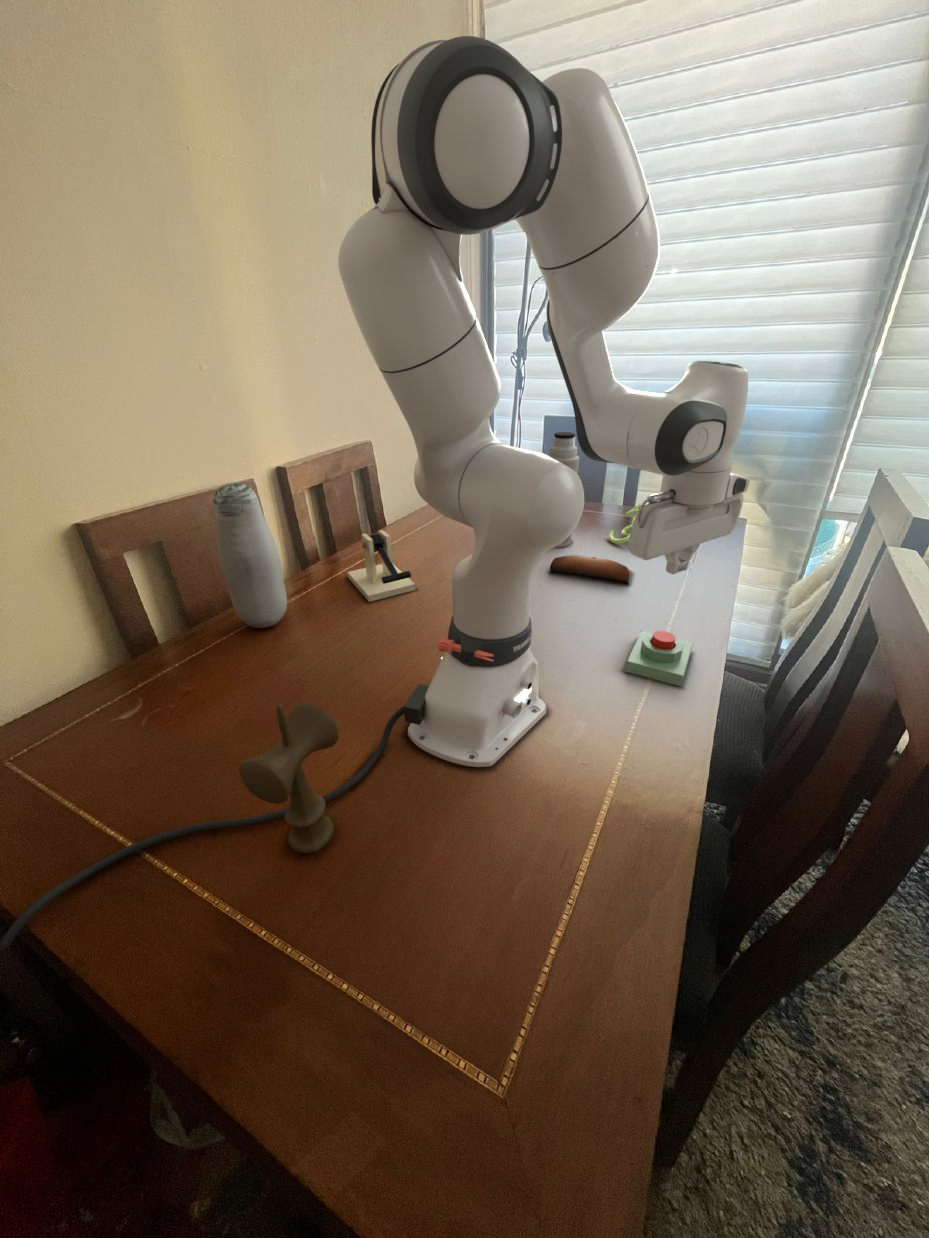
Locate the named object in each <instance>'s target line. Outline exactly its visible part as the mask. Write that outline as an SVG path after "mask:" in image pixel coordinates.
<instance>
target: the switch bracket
mask: <svg viewBox="0 0 929 1238" xmlns="http://www.w3.org/2000/svg"><path fill="white" fill-rule="evenodd" d="M378 534H380V536H381V538H382V539H383V541H384V550H385V552H386V554H387V555H388V557H389V559H390V561H391V562H392V564H393V566H394V568H395V569H396V571H397V573H401V572H402V571H401V569H399V568H398V567H397V566H396V565H395V564H394V562H393V561H394V560H393V552H392V541H391V540H392V539H391V535H389V533H387V532H386V531H385V530H384V529H381V530H378ZM361 541H362V549H363V558H364V566H365V567H363V568H359V569H355V570H350V571H347V578H348V579H349V581H350V582H351V583H352V585H354V586H355V587H356V589H357V590H358V591H359V592H360V593H361V595H362V596H363V597H364V598H365V599H366V600H367V602H369V603H370V602H375V601H378V600H381V599H386V598H390V597H394V596H396V595H401V594H404V593H405V594H406V593H409V592H413V591H416V583H415V582H414V581H412V579H410V578H406V579H402V580H398V581H394V582H389V583H385V584H383V582H382V577H385V576H389V575H391V574H390V572H389V570H388V568H387V567H386V565H385V563H384V561H383V559H382V558H381V563H380V564H377V563H376V557H375V556H376V555H375V552H374V546H373V539H371V538H370V535H368V534H367V533H361Z"/></svg>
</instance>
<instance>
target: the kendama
mask: <svg viewBox="0 0 929 1238" xmlns="http://www.w3.org/2000/svg"><path fill="white" fill-rule="evenodd" d="M275 710H276V711H275V712H276V718H277V724H278V728H279V732H280V738H281V740H280V741H278V743H277V744H275V746H274V747H272V748H271V749H270V750H267V751H266V752H264V753H261V754H259V755H255V756H252V757H249V758H246V759H244V760H243V761H242V762H241V763H240V766H239V768H238V771H239V777H240V779H241V780H242V782H243V785H244V786H245V787H246V789H247V790H248V791H249V792H250V793H251V794H252V795H253V796H254V797H256V798H258V799H259V800H261V801H264V802H266V803H270V804H273V805H275V804H276V805H279V804H284V803H286V802H287V800H288V798H289V805H288V806H287V808H286V809H287V810H286V812H285V817H284V818H283V819H284V820H285V823H286V824H287V825H288V826H289V827H291V829H290V831H289V833H288V838H287V839H288V840H287V843H288V845H289V846H290V847H291V849H292V850H293V851H295V852H297V853H299V854H305V855H308V854H314V853H317V852H318V851H321V849H323V848H324V847H326V846H327V845H328V843H329V842H330V841H331V840H332V837H333V835H334V833H335V832H334V831H335V823H334V822H333V821H332V819H331V818H330V817H329V816H328V815H325V812H326V805H327V803H326V802H325V801H324V799H323V796H321V795H319V794H318V793H315V792H314V791H313V789H312V787H311V784H310V782H309V780H308V778H307V776H306V773H305V771H304V768H303V766H302V764H303V762H304V761H305V760H306V759H307V758H309V756H311V754H312V753H314V752H317V751H322V750H326V749H329V748H330V749H331V748H333V747H334V746H335V745H336V743H337V742H338V740H339V729H338V726H337V723H336V721H335V720H334V719H333V717H332V716H331V715H330V713H328V712H327V711H325V710H324V709H323V708H321V707H320V706H316V705H315V704H311V703H304V702H303V703H302V702H301V703H299V704H296V705H294V706H293V707H292V709H291V711H290V714H289V717H287V715H286V712H285V709H284V707H283V706H282V704H279V703H278V704H277V705H276V707H275Z"/></svg>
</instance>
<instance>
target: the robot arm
mask: <svg viewBox="0 0 929 1238" xmlns="http://www.w3.org/2000/svg"><path fill="white" fill-rule="evenodd" d="M371 119H372V120H371V132H370V133H371V135H370V140H371V141H370V142H371V143H370V144H371V145H370V146H371V180H372V181H371V194H372V199H373V202H374V204H375V206H374V207H372V208H371V209H369V210H368V211H367V212H365V213H364V214H362V215H361V216H360V217H359V218H357V219H356V220H355V222H354V223H353V224H352V225H351V226H350V228H349V229H348V231H347V232H346V233H345V235H344V238H343V239H342V241H341V244H340V247H339V250H338V255H337V256H338V257H337V258H338V259H337V263H338V265H337V266H338V272H339V275H340V278H341V281H342V284H343V285H342V286H343V288H344V291H345V294H346V297H347V300H348V302H349V305H350V308H351V311H352V313H353V316H354V319H355V321H356V324H357V326H358V328H359V331H360V332H361V333H360V334H361V336H362V338H363V339H364V341H365V344H366V346H367V348H368V351H369V352H370V354H371V357H372V358H373V360H374V362H375V364H376V366H377V368H378V370H379V372H380V374H381V376H382V377H383V379H384V382H385V383H386V385H387V387H388V389H389V391H390V393H391V395H392V396H393V398H394V400H395V402H396V404H397V405H398V408H399V410H400V412H401V414H402V416H403V418H404V420H405V421H406V424H407V426H408V428H409V430H410V432H411V436H412V438H413V441H414V445H415V448H416V451H417V458H416V461H415V465H414V470H413V480H414V486H415V490H416V491H417V494H418V496H420V498H421V499H422V500H423V501H424V502H425V503H426V504H427V505H429V506H430V507H431V508H433V510H435V511H436V512H438V513H439V514H440V515H442V516H444V517H446V518H447V519H451V520H453V521H454V522H457V523H461V524H463V525H464V526H467V527H470V528H472V529H473V531H474V535H475V536H474V537H475V541H474V543H475V544H474V549H473V552H472V553H471V554H469V555H467V556H466V557H465V558H463V559H462V560H461V561H460V562H459V563H458V564H457V565H456V566H455V567H454V570H453V571H452V576H451V589H452V590H451V591H452V616H451V617H450V623H449V626H448V629H447V637H445V636H442V637H440V639H439V640H438V643H437V649H438V651H439V652H443V655H442V656H441V657H440V661H439V663H438V665H437V668H436V670H435V672H434V674H433V676H432V679H431V681H430V683H429V685H426V684H421V683H418V684H417V686H416V688H415V689H414V690H413V692H412V693H411V695H410V697H409V698H408V699H407V701H406V702H405V704H403V705H402V706H401V707H400V708H399V709H397V710H396V711H395V712H394V713H393V714H392V715H391V717H390V718H389V719H388V721H387V723H386V725H385V727H384V730H383V733H382V737H381V740H380V741H379V744H378V746H377V747H376V749H375V750H374V751H373V753H372V755H371V756H370V758H369V759H368V760H367V762H365V764H364V765H363V766H362V768H361V769H360V770H359V771H358V772H357V773H356V774H355V775H353V776H352V777H351V778H350V779H349V780H347V781H346V782H344V783H343V784H341V785H340V786H338V787H336V788H334V790H332V791H329V793H327V794H325V795H322V797H323V799H324V801H325V802H326V804H327V803H329V802H330V801H333V800H334V799H336V798H338V797H339V796H341V795H342V794H344V793H346V792H347V791H348V790H350V789H351V788H353V787H354V786H355V785H357V784H358V783H359V782H360V781H362V780H363V778H364V777H365V776H366V775H367V774H368V773H369V772H370V770H372V768H373V767H374V765H375V764H376V763H377V761H378V760H379V759H380V757H381V755H382V754H383V752H384V751H385V749H386V747H387V745H388V742H389V739H390V736H391V733H392V730H393V728H394V726H395V724H396V722H397V721H399V719H400V718H401V717H404V722H406V723H409V725H408V728H407V736H408V738H409V739H410V740H411V742H412V743H413V744H414V745H416V746H417V747H418V748H419V749H421V750H423V751H424V752H426V753H428V754H430V755H432V756H435V757H436V758H438V759H441V760H443V761H447V762H449V763H452V764H456V765H459V766H464V767H471V768H472V767H473V768H488V767H492V766H493V765H495V764H496V763H497V762H498V761H499V760H500V759H501V758H502V757H504V755H505V754H506V753H508V751H509V750H510V749H511V748H512V747H514V745H516V744H517V742H518V741H519V740H520V739H521V738H523V737H524V736H525V735H526V734H527V733H528V732H529V731H530V730H531V729H532V728H533V727H534V726H535V725H536V724H537V723H538V722H539V721H540V720H541V719H542V718H543V717H544V716H545V715H546V713H547V705H546V703H545V702H544V701H543V700H542V699H541V697H539V693H540V692H539V663H538V661H537V659H536V657H535V656H534V654H533V652H532V649H531V648H530V646H531V643H532V636H533V626H532V619H531V617H530V609H531V598H532V597H531V596H532V587H533V579H534V577H535V576H534V575H535V572H536V569H537V566H538V565H539V563H540V561H541V559H542V558H543V556H544V555H545V554H546V553H547V552H548V551H549V550H551V549H553V548H556V547H555V546H557V545H559V544H561V543H562V542H563V541H564V540H566V539H567V538H568V537H569V536H570V535H571V534H572V535H573V532H574V531H575V530H576V528H577V526H578V525H579V523H580V520H581V518H582V516H583V512H584V506H585V491H584V486H583V482H582V479H581V478H580V476H579V474H577V473H576V472H575V471H574V470H573V469H571V468H569V467H568V466H566V465H564V464H562V463H561V462H559V461H557V460H555V459H553V458H551V457H549V456H548V454H545V453H543V452H538V451H535V450H530V449H525V448H522V447H518V446H517V447H516V446H512V445H508V444H505V443H502V442H501V440H499V439H498V438H497V437H496V436H495V434H494V432H493V429H492V427H491V423H490V422H491V421H490V418H491V416H492V414H493V412H494V411H495V409H496V407H497V405H498V403H499V401H500V398H501V392H502V390H501V389H502V386H501V385H502V383H501V379H500V375H499V374H498V371H497V367H496V365H495V363H494V360H493V357H492V354H491V352H490V349H489V346H488V343H487V341H486V339H485V336H484V332H483V330H482V327H481V325H480V321H479V319H478V315H477V314H476V310H475V308H474V306H473V303H472V300H471V298H470V296H469V293H468V290H467V289H466V286H465V284H464V278H463V273H462V269H461V260H460V259H461V258H460V252H461V242H462V236H463V235H466V236H468V235H469V236H470V235H471V236H472V235H478V234H482V233H487V232H489V231H492V230H494V229H497V228H499V227H501V226H503V225H506V224H508V223H510V222H513V221H516V222H517V224H518V225H519V227H520V229H521V230H522V232H523V233H525V237H526V240H527V242H528V245H529V247H530V249H531V253H532V254H533V257H534V259H535V262H536V264H537V266H538V269H539V271H540V273H541V276H542V279H543V281H544V284H545V288H546V292H547V295H548V298H547V302H546V323H547V328H548V332H549V336H550V340H551V343H552V347H553V349H554V354H555V356H556V359H557V363H558V365H559V368H560V371H561V375H562V377H563V379H564V382H565V386H566V389H567V392H568V395H569V398H570V402H571V405H572V408H573V414H574V420H575V421H574V422H575V430H576V431H575V432H576V437H577V441H578V444H579V447H580V449H581V451H582V453H583V454H584V455H585V456H586V457H587V458H589V459H590V460H593V461H595V462H602V463H608V464H616V465H620V466H623V467H627V468H631V469H635V470H639V471H644V472H648V473H652V474H655V475H661V476H662V479H661V485H660V490H659V492H658V493H653V494H650V495H648V496H647V497H646V499H645V500H644V501H643V502H642V503H641V504H639V505H640V507H639V510H638V511H637V513H636V514H635V515H636V516H635V515H634V516H635V518H634V517H633V518H634V521H633V525H632V524H631V525H632V529H630V532H629V533H630V537H629V541H627V550H628V552H629V553H630V555H632V556H634V557H635V558H638V559H640V560H643V561H650V560H652V559H656V558H659V557H662V556H664V557H665V560H666V566H665V571H666V572H667V573H668V574H670V575H677V574H679V573H681V572H684V571H687V570H688V568H689V564H690V561H691V559H692V558H693V556H694V555H695V554H696V552H697V551H698V547H699V546H698V545H701V544H704V543H707V542H710V541H713V540H716V539H719V538H722V537H726V536H729V535H731V534H732V533H733V531H734V530H735V528H737V525H738V521H739V518H740V515H741V511H742V507H743V504H744V493H747V491H748V489H749V486H750V480H751V479H750V478H749V477H746V476H743V475H741V474H736V473H733V472H732V469H733V464H734V462H733V461H734V460H733V459H734V458H733V454H734V453H733V452H734V448H735V445H736V443H737V441H738V439H739V438H740V435H741V431H742V428H743V427H742V426H743V423H744V419H745V413H746V407H747V400H748V392H749V372H748V370H747V369H746V368H745V367H744V366H743V365H740V364H738V363H735V362H729V361H720V360H710V359H700V360H695V361H691V362H689V363H688V364H687V366H686V369H685V371H684V373H683V377H682V378H681V380H679V382H677V383H676V384H675V385H674V386H672V387H671V388H669V389H667V390H665V391H664V392H662V393H661V392H660V393H658V392H651V391H643V390H636V389H633V388H630V387H628V386H626V385H624V384H622V383H621V382H619V381H618V380H617V379H616V378H615V376H614V372H613V371H614V370H613V367H612V363H611V359H610V354H609V350H608V346H607V343H606V339H605V333H604V331H605V330H607V329H608V328H610V327H611V326H613V325H615V324H616V323H617V322H618V321H620V320H621V319H622V318H623V317H624V316H626V315H627V314H628V313H629V312H630V311H631V310H632V309H633V308H634V307H635V306H636V305H637V303H638V302H639V301H640V300H641V299H642V297H643V296H644V295H645V293H646V292H647V290H648V289H649V287H650V285H651V283H652V281H653V279H654V277H655V274H656V271H657V268H658V265H659V261H660V256H661V248H660V247H661V241H660V231H659V225H658V220H657V217H656V213H655V209H654V205H653V202H652V198H651V195H650V191H649V187H648V184H647V180H646V177H645V173H644V169H643V166H642V164H641V160H640V158H639V155H638V152H637V149H636V146H635V144H634V141H633V139H632V136H631V133H630V131H629V128H628V126H627V124H626V122H625V119H624V117H623V115H622V113H621V110H620V108H619V106H618V104H617V102H616V100H615V98H614V97H613V94H612V92H611V90H610V88H609V86H608V85H607V83H606V82H605V80H604V78H602V77H601V76H600V75H599V74H598V73H597V72H595V71H594V70H591V69H589V68H583V67H578V68H576V67H575V68H568V69H565V70H561V71H559V72H557V73H554V74H552V75H550V76H549V77H547V78H545V79H544V80H543V81H541V80H540V79H539V78H538V77H537V76H535V75H534V74H533V73H532V72H531V71H530V70H529V69H527V68H526V67H525V66H524V65H523V64H522V62H520V61H519V60H518V59H517V58H516V57H515V56H513V54H511V53H510V52H509V51H508V50H506V49H505V48H504V47H502V46H500V45H499V44H497V43H495V42H493V41H491V40H489V39H487V38H482V37H479V36H473V35H462V36H456V37H453V38H450V39H437V40H434V41H428V42H426V43H424V44H421V45H419V46H418V47H417V48H415V49H413V50H412V51H411V52H410V53H408V54H407V55H406V56H405V57H404V58H403V59H402V60H401V61H400V62H399V63H398V64H396V65H395V66H394V67H393V68H392V69H391V70H390V72H389V73H388V74H387V76H386V77H385V79H384V80H383V82H382V84H381V86H380V88H379V91H378V93H377V96H376V100H375V103H374V108H373V114H372V118H371ZM286 810H287V808H284V809H281V810H276V811H272V812H268V813H264V814H260V815H255V816H249V817H243V818H234V819H233V818H232V819H223V820H213V821H205V822H200V823H199V822H198V823H195V824H191V825H190V824H189V825H186V826H182V827H179V828H175V829H173V830H169V831H166V832H162V833H158V834H157V835H154V836H151V837H148V838H144V839H143V840H140V841H138V842H135V843H133V844H130V845H127V846H126V847H123V848H122V849H120V850H118V851H116V852H114V853H112V854H110V855H108V856H106V857H105V858H103V859H101V860H99V861H98V862H95V863H94V864H92V865H91V866H89V867H87V868H85V869H84V870H82V871H80V872H79V873H76V874H74V875H73V876H71V877H70V878H68V879H66V880H65V881H63V882H62V883H60V884H59V885H57V886H55V887H54V888H52V889H51V890H49V891H48V892H46V893H45V894H43V896H41V897H39V898H38V899H37V900H36V901H35V902H33V903H32V904H31V905H30V906H29V907H27V909H26V910H25V911H24V912H23V913H22V914H21V915H19V917H18V918H17V919H16V920H15V922H14V923H13V924H12V925H11V926H10V928H9V929H8V930H7V931H6V933H5V935H4V936H3V937H2V939H1V941H0V951H4V950H6V949H8V948H9V947H10V946H11V945H12V944H13V942H14V940H15V939H16V937H17V936H18V934H19V933H20V931H21V930H22V929H24V927H25V925H27V923H28V922H29V921H30V920H31V919H32V918H33V917H34V916H35V915H36V914H37V913H39V912H40V911H41V910H42V909H43V908H44V907H45V906H47V905H48V904H49V903H50V902H52V901H53V900H54V899H56V898H57V897H59V896H60V895H62V894H63V893H65V892H66V891H68V890H69V889H71V888H73V887H74V886H77V885H78V884H79V883H81V882H83V881H84V880H86V879H88V878H90V877H91V876H93V875H94V874H97V873H98V872H100V871H101V870H103V869H104V868H106V867H108V866H111V865H112V864H113V863H115V862H117V861H119V860H121V859H123V858H125V857H127V856H129V855H131V854H133V853H136V852H138V851H142V850H143V849H146V848H148V847H151V846H155V845H156V844H160V843H163V842H166V841H169V840H172V839H175V838H179V837H183V836H186V835H189V834H194V833H199V832H205V831H211V830H212V831H213V830H220V829H221V830H223V829H234V828H241V827H247V826H248V827H249V826H254V825H258V824H264V823H266V822H267V823H268V822H271V821H275V820H279V819H284V818H285V812H286Z"/></svg>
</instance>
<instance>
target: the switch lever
mask: <svg viewBox="0 0 929 1238" xmlns="http://www.w3.org/2000/svg"><path fill="white" fill-rule="evenodd" d="M369 537H370V538H371V539H373V546H374V553H375V552H378V554H379V556H380V559H381V560H382V559H383V561H384V563H385V565H386V567H387V568H388V570H389V572H390V574H391V575H389V576H385V577H382V582H383V584H385V583H389V582H394V581H398V580H402V579H406V578H409V579H410V578H411V577H412V573H411V571H410V570H405V571H401V573H397V571H396V569H395V568H394V566H393V564H394V563H393V564H392V562H391V561H390V559H389V557H388V555H387V554H386V552H385V550H384V541H383V539H382V538H381V536H380V534H379V533H375V534H370V535H369Z"/></svg>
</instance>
